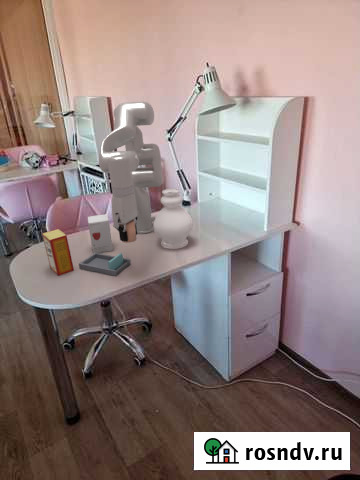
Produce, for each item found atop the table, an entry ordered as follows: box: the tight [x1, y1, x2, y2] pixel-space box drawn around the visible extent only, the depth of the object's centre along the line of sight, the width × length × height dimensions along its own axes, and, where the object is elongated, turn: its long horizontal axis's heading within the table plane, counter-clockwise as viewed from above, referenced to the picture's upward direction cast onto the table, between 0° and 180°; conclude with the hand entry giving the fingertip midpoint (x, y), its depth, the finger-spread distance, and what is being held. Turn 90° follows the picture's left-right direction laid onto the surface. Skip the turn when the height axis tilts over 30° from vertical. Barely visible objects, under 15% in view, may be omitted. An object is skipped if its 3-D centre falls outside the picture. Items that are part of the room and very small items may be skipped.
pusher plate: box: [108, 252, 124, 270], centre depth 135 cm, size 8×1×4 cm, turn 154°
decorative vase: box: [153, 188, 194, 250], centre depth 150 cm, size 18×18×25 cm
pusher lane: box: [78, 253, 131, 277], centre depth 138 cm, size 11×18×2 cm, turn 64°
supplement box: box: [87, 213, 114, 254], centre depth 152 cm, size 9×9×15 cm
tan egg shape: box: [121, 220, 137, 244], centre depth 125 cm, size 6×6×7 cm
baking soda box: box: [41, 228, 75, 277], centre depth 135 cm, size 10×6×16 cm
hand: (128, 237), depth 126 cm, fingers closed on tan egg shape, 5 cm apart
